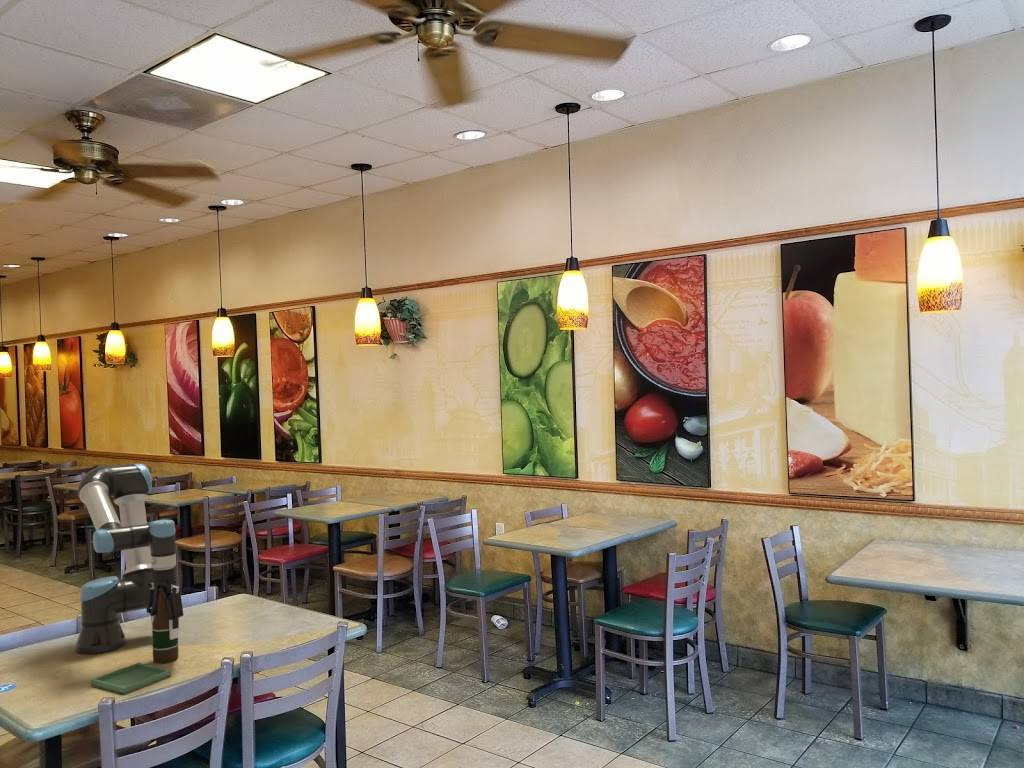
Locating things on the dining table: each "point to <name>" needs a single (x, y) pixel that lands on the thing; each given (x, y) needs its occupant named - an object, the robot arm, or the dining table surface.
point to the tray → (130, 678)
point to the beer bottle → (163, 635)
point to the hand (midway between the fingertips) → (165, 636)
